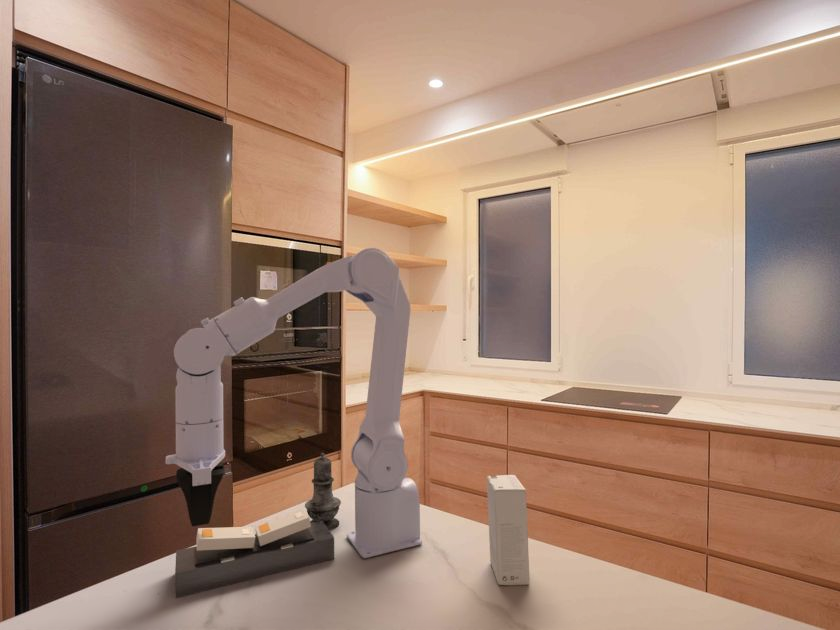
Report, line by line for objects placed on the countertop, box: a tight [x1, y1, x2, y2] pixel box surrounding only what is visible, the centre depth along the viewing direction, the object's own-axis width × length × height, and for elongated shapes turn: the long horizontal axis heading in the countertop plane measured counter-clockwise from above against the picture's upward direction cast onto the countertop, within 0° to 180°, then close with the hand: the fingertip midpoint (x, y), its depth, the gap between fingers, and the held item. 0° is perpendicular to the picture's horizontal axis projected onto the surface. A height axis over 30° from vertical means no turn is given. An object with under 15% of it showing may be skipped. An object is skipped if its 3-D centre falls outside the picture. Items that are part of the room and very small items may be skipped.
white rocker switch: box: [195, 526, 256, 551], centre depth 63 cm, size 7×4×2 cm, turn 116°
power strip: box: [174, 521, 335, 599], centre depth 65 cm, size 20×6×3 cm, turn 116°
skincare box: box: [486, 474, 530, 586], centre depth 63 cm, size 6×4×12 cm
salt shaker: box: [304, 452, 342, 532], centre depth 78 cm, size 6×6×12 cm
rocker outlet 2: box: [254, 507, 311, 546], centre depth 67 cm, size 7×4×2 cm, turn 117°
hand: (200, 523), depth 62 cm, fingers closed
